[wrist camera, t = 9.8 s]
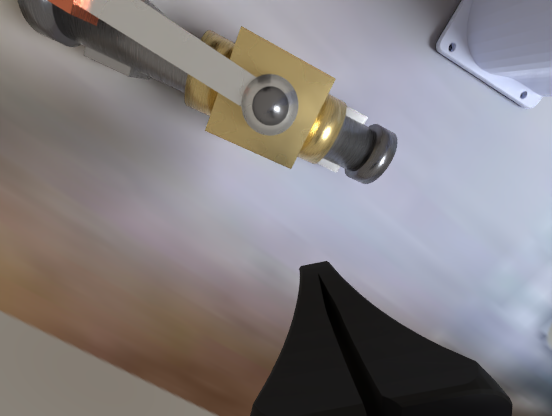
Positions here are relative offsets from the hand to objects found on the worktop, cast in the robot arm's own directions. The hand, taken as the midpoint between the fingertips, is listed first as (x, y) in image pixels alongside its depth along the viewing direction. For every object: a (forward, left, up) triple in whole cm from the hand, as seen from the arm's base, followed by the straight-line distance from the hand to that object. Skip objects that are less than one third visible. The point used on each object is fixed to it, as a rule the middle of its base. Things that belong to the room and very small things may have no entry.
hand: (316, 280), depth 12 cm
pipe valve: (+7, -6, -10) cm, 14 cm away
